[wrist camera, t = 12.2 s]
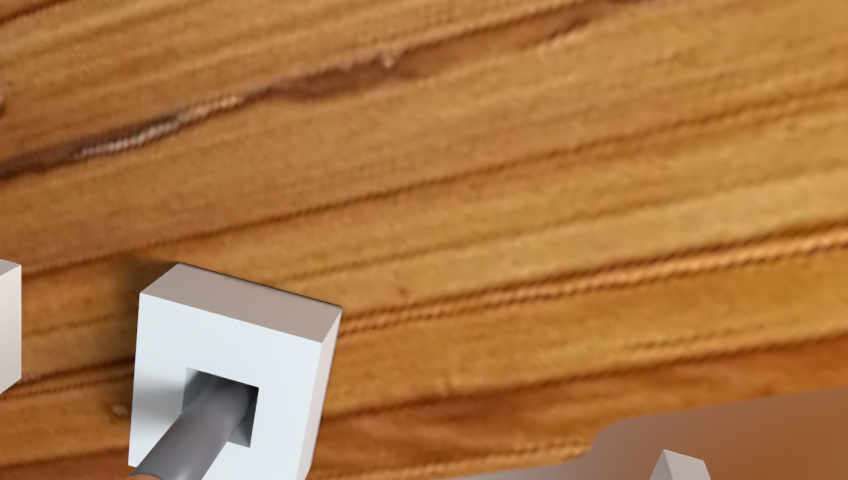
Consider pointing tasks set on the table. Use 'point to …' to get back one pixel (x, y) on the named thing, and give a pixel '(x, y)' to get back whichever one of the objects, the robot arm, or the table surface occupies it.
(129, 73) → the table surface
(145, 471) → the marker
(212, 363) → the socket block
